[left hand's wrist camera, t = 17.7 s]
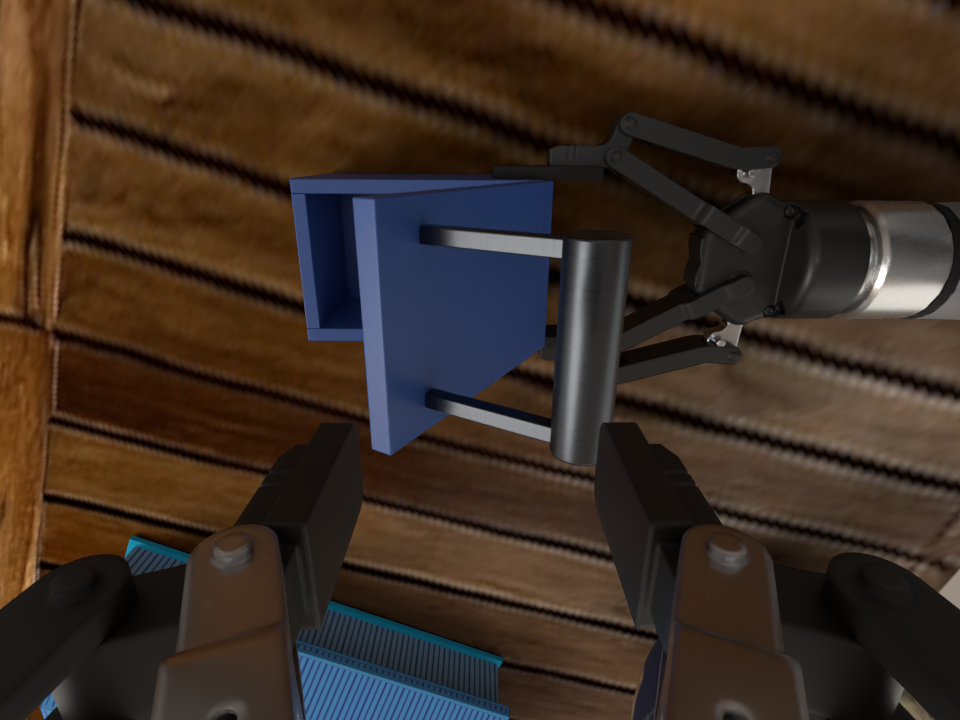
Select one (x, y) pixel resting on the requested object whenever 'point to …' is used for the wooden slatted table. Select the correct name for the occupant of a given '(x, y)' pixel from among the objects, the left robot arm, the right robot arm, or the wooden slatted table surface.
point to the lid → (485, 312)
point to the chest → (347, 241)
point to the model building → (370, 663)
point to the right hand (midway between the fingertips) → (491, 258)
